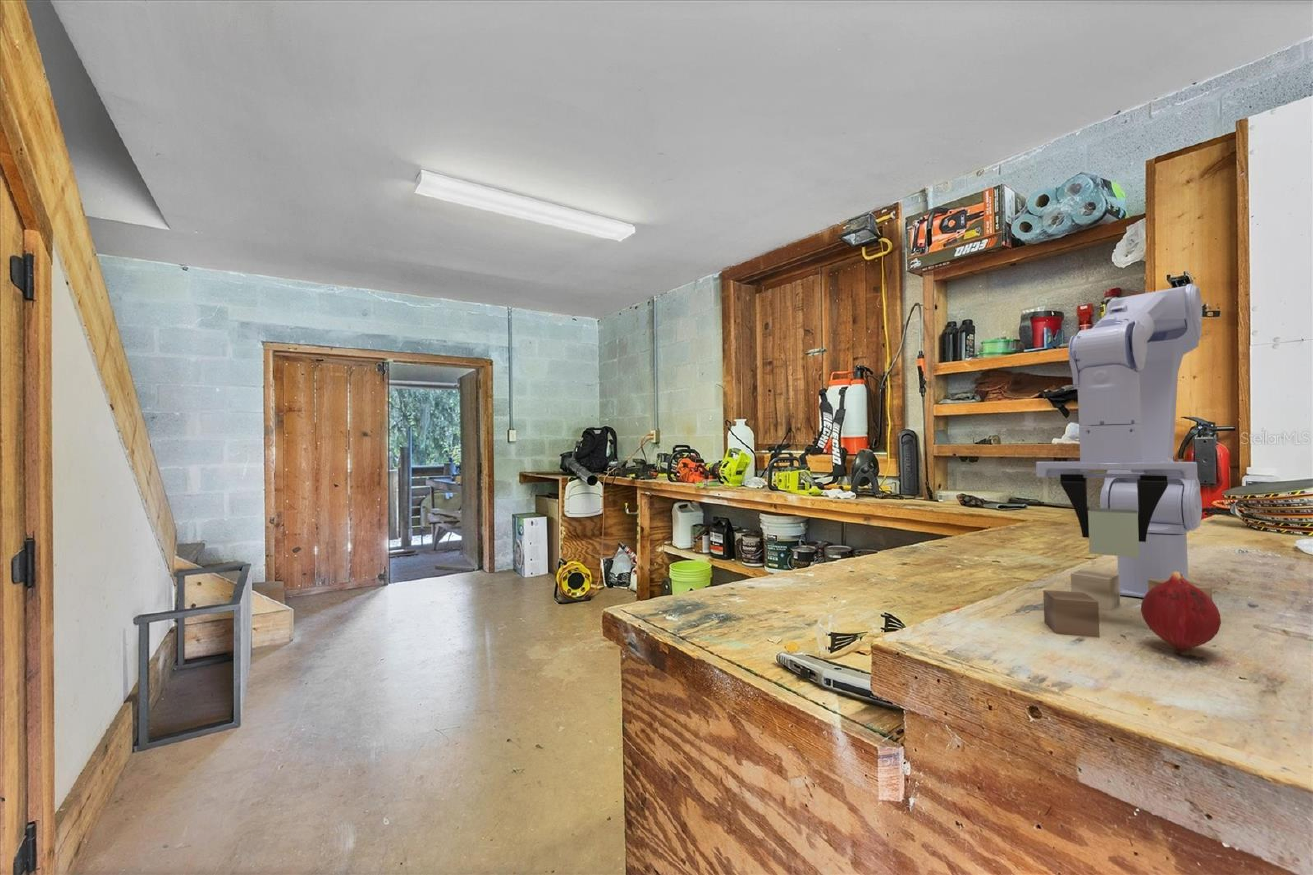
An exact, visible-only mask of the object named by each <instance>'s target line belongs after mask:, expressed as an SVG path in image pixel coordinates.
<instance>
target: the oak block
mask: <svg viewBox="0 0 1313 875" xmlns="http://www.w3.org/2000/svg"><path fill="white" fill-rule="evenodd" d="M1168 580H1169V579H1148V592H1149V591H1150V590H1151V589H1152V588H1154V587H1155V586H1157V585H1159V584H1162V583H1164V582H1166V581H1168ZM1188 582H1189V583H1190V584H1192V585H1194V586H1195V587H1197V588H1199V589H1200V590H1202V591H1203V592H1204V593H1205V594H1206V595H1208V596H1209V598H1210V599H1211V600H1212V601H1213V588H1212V587H1211V586H1206V585H1204V584H1201V583H1200V584H1199V583H1197V582H1192V581H1190V580H1188Z"/></svg>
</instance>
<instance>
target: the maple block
mask: <svg viewBox="0 0 1313 875" xmlns="http://www.w3.org/2000/svg"><path fill="white" fill-rule="evenodd" d="M1070 588H1071V590H1070V592H1084V593H1085V594H1087V595H1088V596H1090V597H1091V598H1093V599H1095V600H1096V601H1098V606H1099V609H1102V610H1106V611H1111V610H1113V609H1116V608H1117V607H1118V606H1120V605H1121V601H1120V600H1121V597H1120V593H1119V575H1118V573H1111V572H1105V571H1103V572H1102V571H1096V570H1089V569H1085V568H1084V569H1083V568H1081V569H1079V570H1077V571H1073V572H1072V573H1070ZM1119 604H1120V605H1119Z"/></svg>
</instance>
